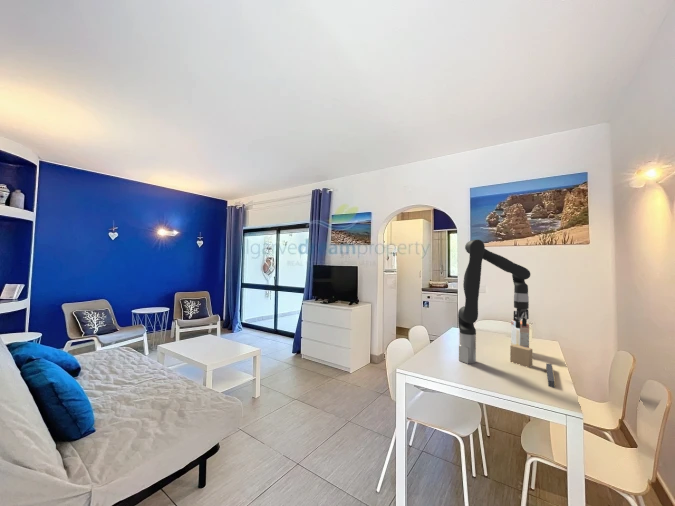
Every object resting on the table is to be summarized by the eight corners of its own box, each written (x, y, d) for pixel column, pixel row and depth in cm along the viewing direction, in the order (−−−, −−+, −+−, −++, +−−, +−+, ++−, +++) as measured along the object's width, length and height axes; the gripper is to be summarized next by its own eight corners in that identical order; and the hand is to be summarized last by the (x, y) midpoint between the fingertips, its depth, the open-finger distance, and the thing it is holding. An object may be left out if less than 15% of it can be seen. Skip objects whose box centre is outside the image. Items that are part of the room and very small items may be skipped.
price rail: (555, 387, 136) (555, 381, 136) (548, 386, 137) (548, 380, 137) (552, 369, 158) (552, 364, 158) (546, 368, 160) (546, 363, 160)
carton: (532, 365, 165) (532, 348, 165) (528, 367, 162) (528, 350, 162) (514, 360, 173) (514, 344, 173) (510, 361, 170) (510, 345, 170)
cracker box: (529, 356, 180) (529, 324, 181) (519, 355, 181) (519, 323, 182) (520, 349, 194) (520, 319, 194) (510, 348, 195) (510, 319, 196)
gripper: (519, 298, 175) (519, 324, 175) (508, 300, 167) (508, 327, 167) (533, 300, 169) (533, 327, 168) (522, 302, 161) (522, 330, 161)
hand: (521, 327), depth 168 cm, fingers open, 8 cm apart
